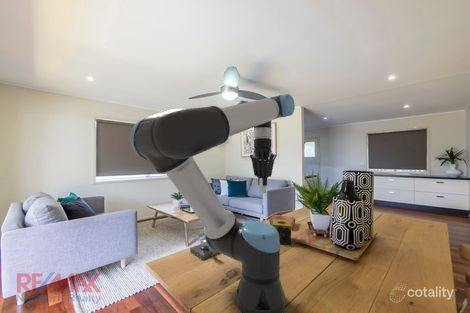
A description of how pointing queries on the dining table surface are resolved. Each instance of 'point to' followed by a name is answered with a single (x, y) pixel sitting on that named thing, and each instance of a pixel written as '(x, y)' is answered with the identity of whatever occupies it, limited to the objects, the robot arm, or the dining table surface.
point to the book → (292, 219)
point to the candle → (283, 230)
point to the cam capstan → (205, 246)
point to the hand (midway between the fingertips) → (262, 193)
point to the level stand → (201, 252)
